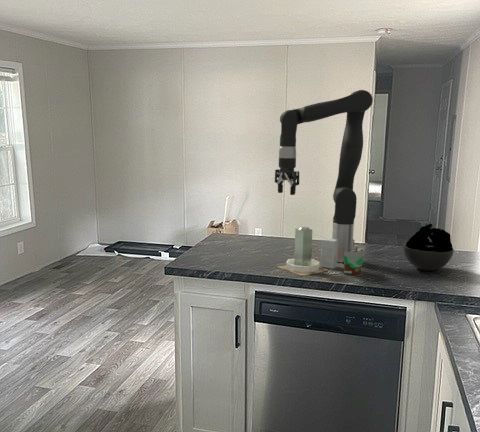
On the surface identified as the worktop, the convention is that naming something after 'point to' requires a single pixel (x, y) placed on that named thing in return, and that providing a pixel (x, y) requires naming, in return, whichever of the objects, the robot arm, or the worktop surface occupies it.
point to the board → (302, 273)
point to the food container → (353, 261)
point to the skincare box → (329, 253)
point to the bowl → (302, 269)
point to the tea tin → (303, 246)
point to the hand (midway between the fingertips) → (286, 193)
